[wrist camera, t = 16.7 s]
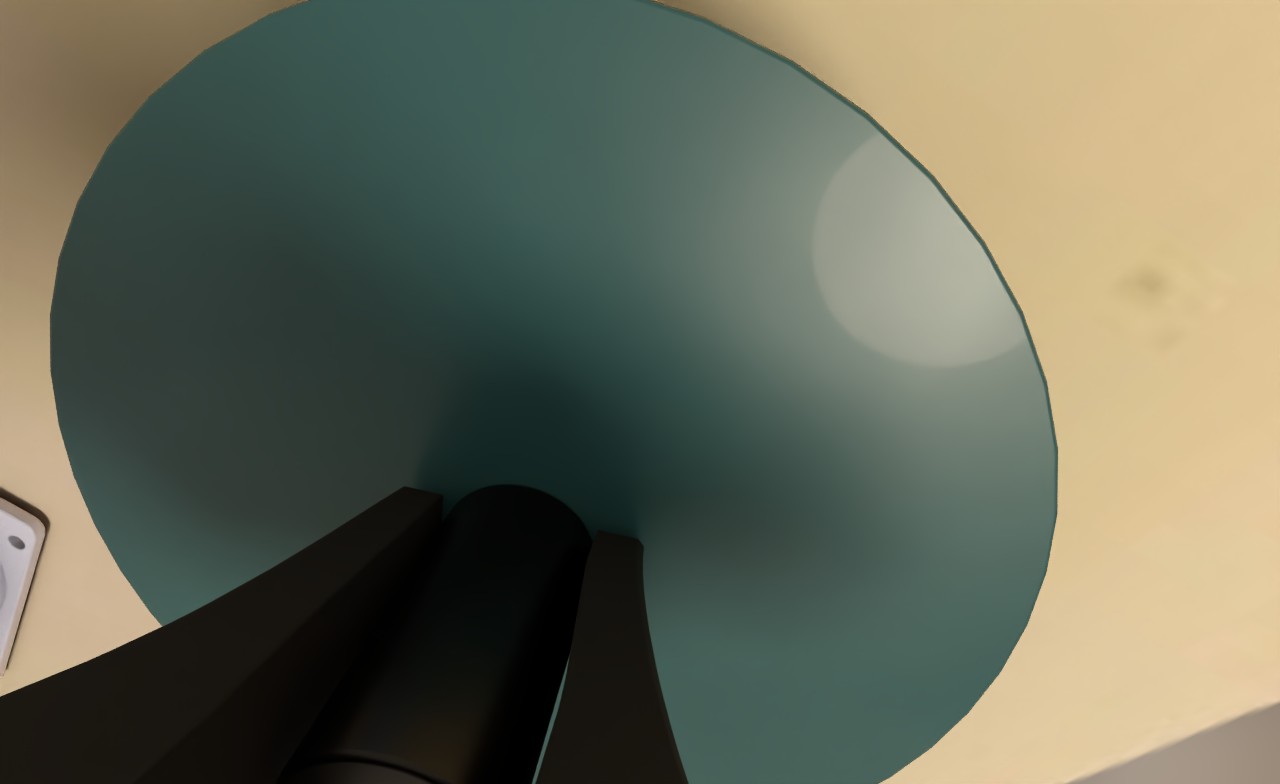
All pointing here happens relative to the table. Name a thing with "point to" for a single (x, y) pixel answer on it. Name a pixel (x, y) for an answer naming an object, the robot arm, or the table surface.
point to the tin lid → (562, 379)
